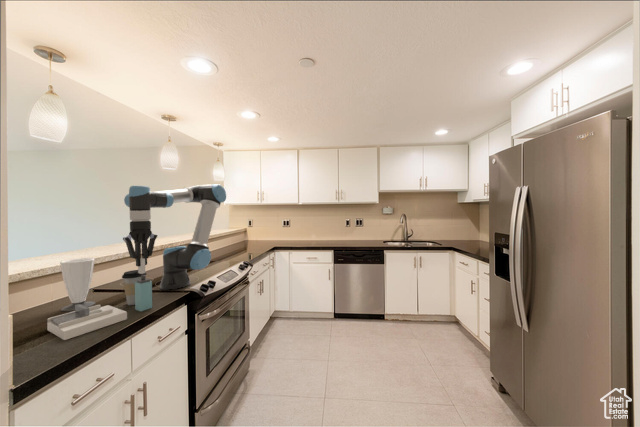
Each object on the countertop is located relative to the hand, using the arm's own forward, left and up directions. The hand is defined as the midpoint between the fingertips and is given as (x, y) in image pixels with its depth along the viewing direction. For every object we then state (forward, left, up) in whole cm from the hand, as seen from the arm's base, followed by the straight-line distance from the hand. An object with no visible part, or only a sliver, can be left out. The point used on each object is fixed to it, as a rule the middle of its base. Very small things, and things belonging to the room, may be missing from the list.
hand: (141, 272), depth 107 cm
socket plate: (+18, -2, -16) cm, 24 cm away
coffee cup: (-2, -12, -16) cm, 20 cm away
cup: (+12, -31, -16) cm, 37 cm away
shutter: (+22, -4, -13) cm, 26 cm away
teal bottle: (0, 0, -16) cm, 16 cm away
